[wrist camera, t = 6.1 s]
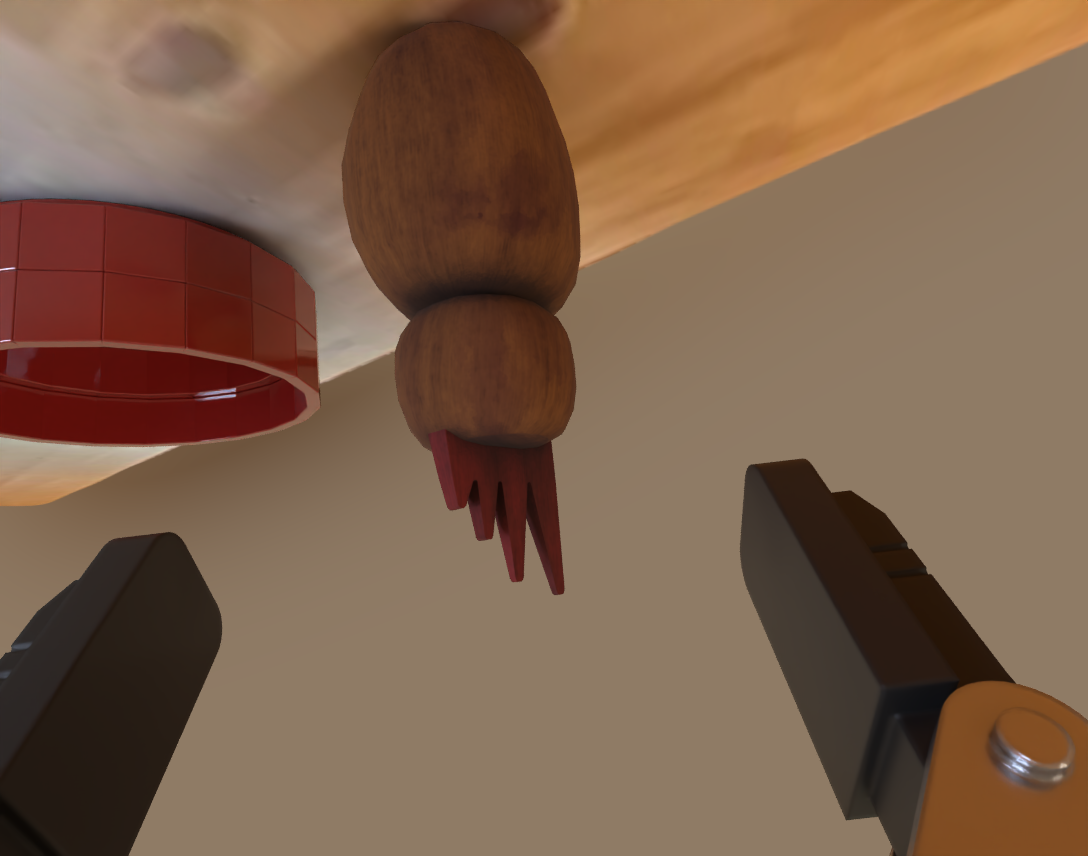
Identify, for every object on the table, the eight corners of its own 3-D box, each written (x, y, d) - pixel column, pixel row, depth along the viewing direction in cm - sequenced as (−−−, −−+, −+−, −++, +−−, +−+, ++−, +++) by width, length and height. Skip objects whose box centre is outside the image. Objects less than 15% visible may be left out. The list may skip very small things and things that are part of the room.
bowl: (84, 361, 37) (80, 458, 35) (-243, 216, 22) (-268, 375, 21) (356, 328, 37) (362, 425, 35) (214, 160, 22) (216, 316, 21)
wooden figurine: (583, 114, 22) (652, 582, 18) (427, 167, 23) (465, 603, 20) (501, -63, 15) (585, 600, 12) (297, 27, 17) (322, 628, 14)
